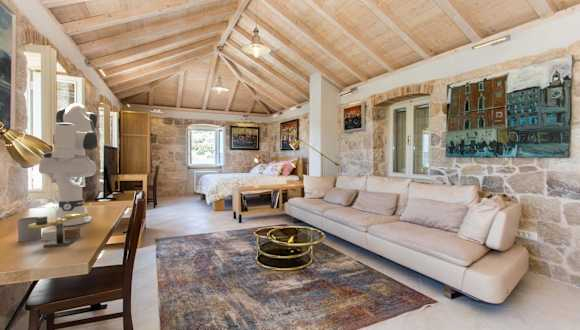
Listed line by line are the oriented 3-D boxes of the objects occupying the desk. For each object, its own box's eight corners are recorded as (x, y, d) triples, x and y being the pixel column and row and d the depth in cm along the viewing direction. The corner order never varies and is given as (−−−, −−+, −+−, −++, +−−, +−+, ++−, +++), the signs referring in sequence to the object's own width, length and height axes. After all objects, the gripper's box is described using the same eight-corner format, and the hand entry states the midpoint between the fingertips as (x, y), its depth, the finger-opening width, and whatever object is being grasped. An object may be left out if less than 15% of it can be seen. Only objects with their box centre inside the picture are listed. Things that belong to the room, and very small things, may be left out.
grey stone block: (43, 238, 139) (43, 230, 139) (56, 237, 142) (56, 229, 141) (42, 241, 135) (42, 233, 134) (55, 239, 138) (55, 231, 137)
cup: (27, 241, 133) (26, 221, 132) (13, 240, 134) (13, 220, 134) (45, 236, 141) (45, 217, 141) (32, 235, 143) (32, 216, 142)
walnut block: (68, 237, 141) (68, 227, 141) (80, 236, 143) (80, 226, 143) (64, 240, 136) (64, 230, 136) (76, 239, 138) (76, 229, 138)
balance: (34, 243, 131) (34, 214, 130) (91, 238, 139) (91, 212, 138) (24, 249, 122) (23, 218, 122) (85, 244, 130) (84, 215, 130)
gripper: (92, 155, 145) (92, 181, 145) (43, 154, 138) (43, 182, 138) (88, 154, 139) (88, 182, 139) (37, 154, 132) (37, 183, 132)
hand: (65, 182), depth 139 cm, fingers open, 8 cm apart
